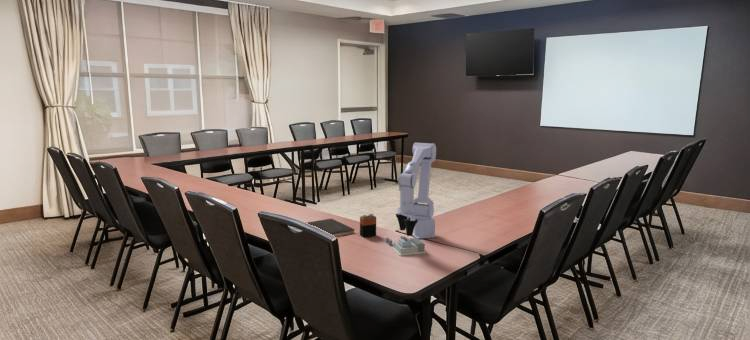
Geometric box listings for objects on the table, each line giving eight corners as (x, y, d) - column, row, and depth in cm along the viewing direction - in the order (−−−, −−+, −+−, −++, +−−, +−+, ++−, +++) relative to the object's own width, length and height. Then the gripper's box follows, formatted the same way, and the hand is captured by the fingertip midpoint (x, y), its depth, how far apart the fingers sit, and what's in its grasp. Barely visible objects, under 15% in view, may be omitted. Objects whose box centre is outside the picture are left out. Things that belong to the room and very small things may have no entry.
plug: (407, 248, 194) (407, 235, 193) (410, 251, 190) (411, 238, 189) (398, 248, 193) (399, 236, 192) (402, 252, 189) (402, 239, 188)
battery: (376, 235, 212) (376, 215, 210) (363, 237, 209) (363, 216, 207) (372, 233, 216) (372, 212, 214) (359, 234, 213) (359, 214, 211)
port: (417, 245, 198) (417, 236, 198) (426, 253, 189) (426, 243, 188) (391, 248, 195) (391, 238, 194) (399, 255, 185) (400, 245, 185)
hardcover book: (331, 222, 234) (331, 218, 234) (354, 234, 216) (355, 229, 215) (303, 227, 225) (303, 223, 225) (325, 239, 207) (325, 234, 206)
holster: (402, 240, 205) (402, 236, 205) (406, 243, 201) (406, 239, 200) (386, 241, 203) (386, 237, 203) (389, 245, 198) (389, 241, 198)
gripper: (391, 198, 193) (391, 228, 196) (404, 206, 180) (403, 238, 182) (406, 197, 196) (406, 227, 198) (420, 205, 182) (419, 237, 184)
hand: (406, 232), depth 190 cm, fingers open, 7 cm apart
